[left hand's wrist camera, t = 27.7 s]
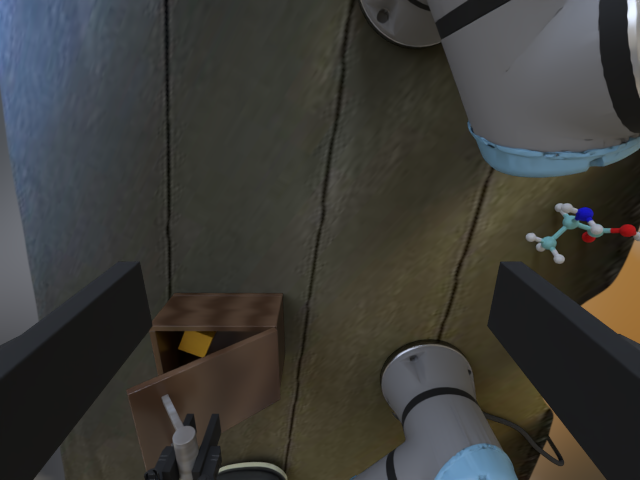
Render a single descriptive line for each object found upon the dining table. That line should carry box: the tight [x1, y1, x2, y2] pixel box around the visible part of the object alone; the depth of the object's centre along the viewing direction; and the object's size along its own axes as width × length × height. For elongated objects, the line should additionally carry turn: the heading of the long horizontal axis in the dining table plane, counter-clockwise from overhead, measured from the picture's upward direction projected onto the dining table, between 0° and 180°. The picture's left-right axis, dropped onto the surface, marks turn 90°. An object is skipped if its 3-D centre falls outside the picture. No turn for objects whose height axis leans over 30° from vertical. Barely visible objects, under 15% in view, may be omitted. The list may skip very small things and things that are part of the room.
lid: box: [126, 327, 280, 480], centre depth 39 cm, size 18×12×8 cm
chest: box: [149, 293, 285, 386], centre depth 52 cm, size 17×12×9 cm
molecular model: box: [526, 203, 640, 264], centre depth 46 cm, size 12×10×10 cm
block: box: [178, 331, 216, 357], centre depth 53 cm, size 4×4×4 cm
